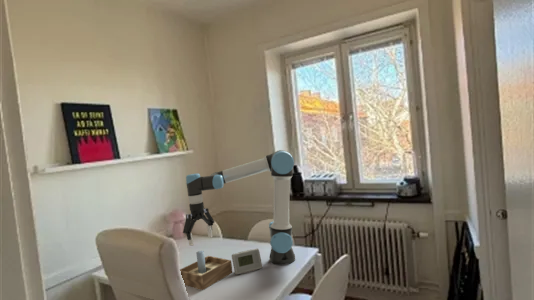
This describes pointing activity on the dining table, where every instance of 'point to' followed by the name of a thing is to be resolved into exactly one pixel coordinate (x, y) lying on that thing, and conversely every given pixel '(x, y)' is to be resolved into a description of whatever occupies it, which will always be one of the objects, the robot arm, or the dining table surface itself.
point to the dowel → (201, 262)
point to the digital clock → (246, 261)
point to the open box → (213, 274)
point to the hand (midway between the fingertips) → (201, 241)
